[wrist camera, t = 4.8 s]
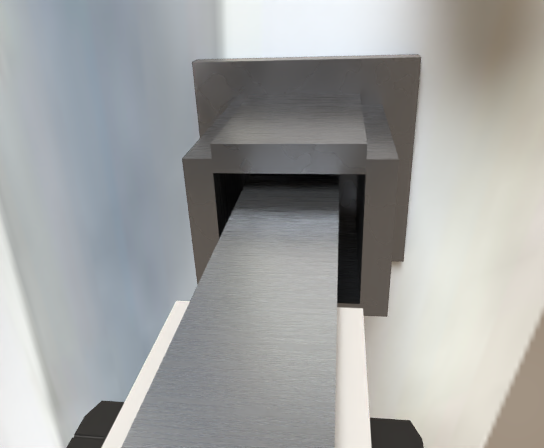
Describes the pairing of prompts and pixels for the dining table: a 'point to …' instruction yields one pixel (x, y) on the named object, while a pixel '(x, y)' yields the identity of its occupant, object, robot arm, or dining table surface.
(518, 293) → the dining table surface
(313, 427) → the column
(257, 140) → the stand
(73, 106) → the dining table surface
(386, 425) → the robot arm
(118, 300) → the dining table surface
